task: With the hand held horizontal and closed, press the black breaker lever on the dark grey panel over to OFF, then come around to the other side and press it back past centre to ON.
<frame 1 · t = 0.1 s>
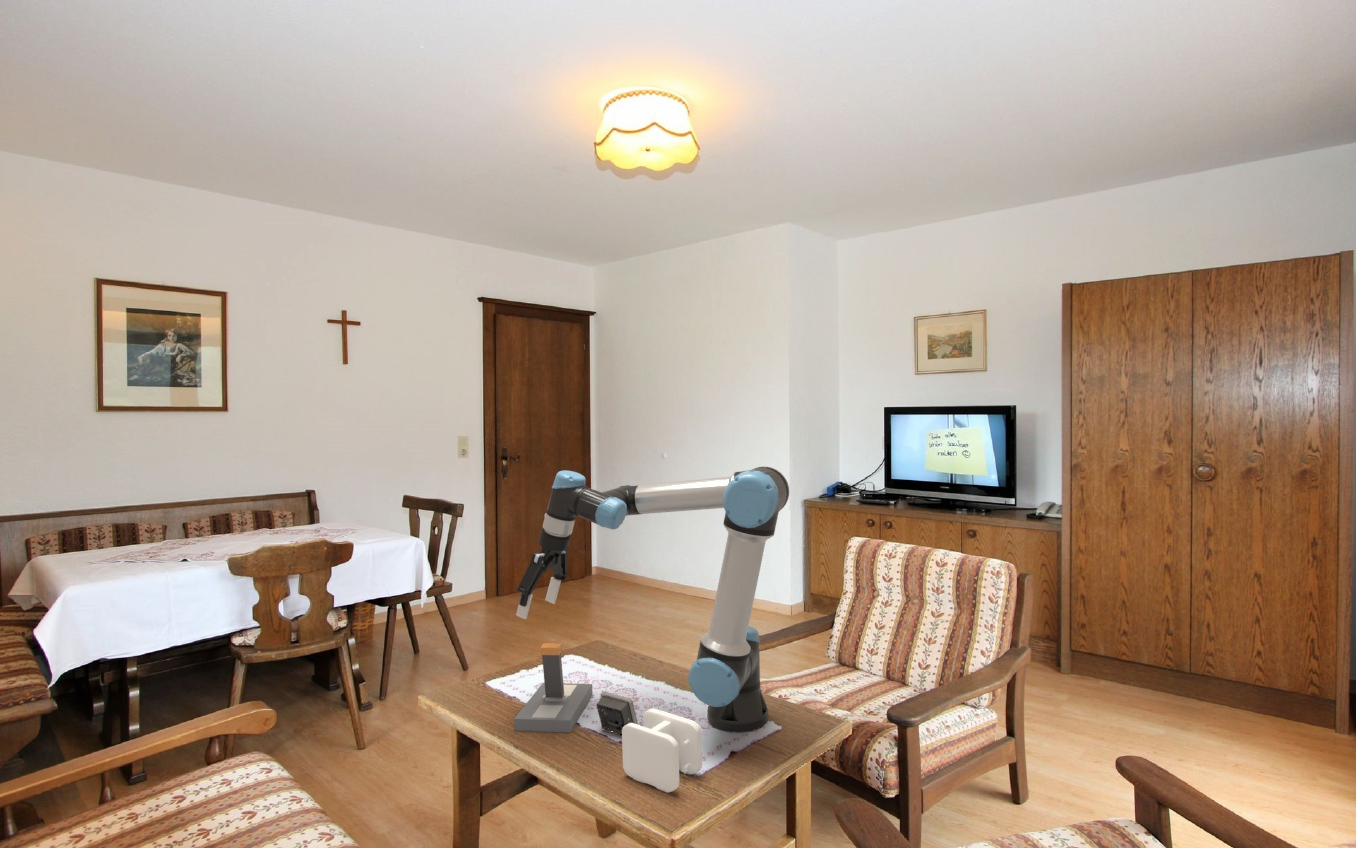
hand: (536, 609, 179), 28 cm above the table, tool tilted 20°, fingers open, 13 cm apart
breaker lever: (552, 671, 181), point 11 cm above the table, hinge at -8.0°
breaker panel: (555, 711, 182), on the table
electrical switch: (618, 733, 170), on the table
cable organizer: (662, 776, 150), on the table
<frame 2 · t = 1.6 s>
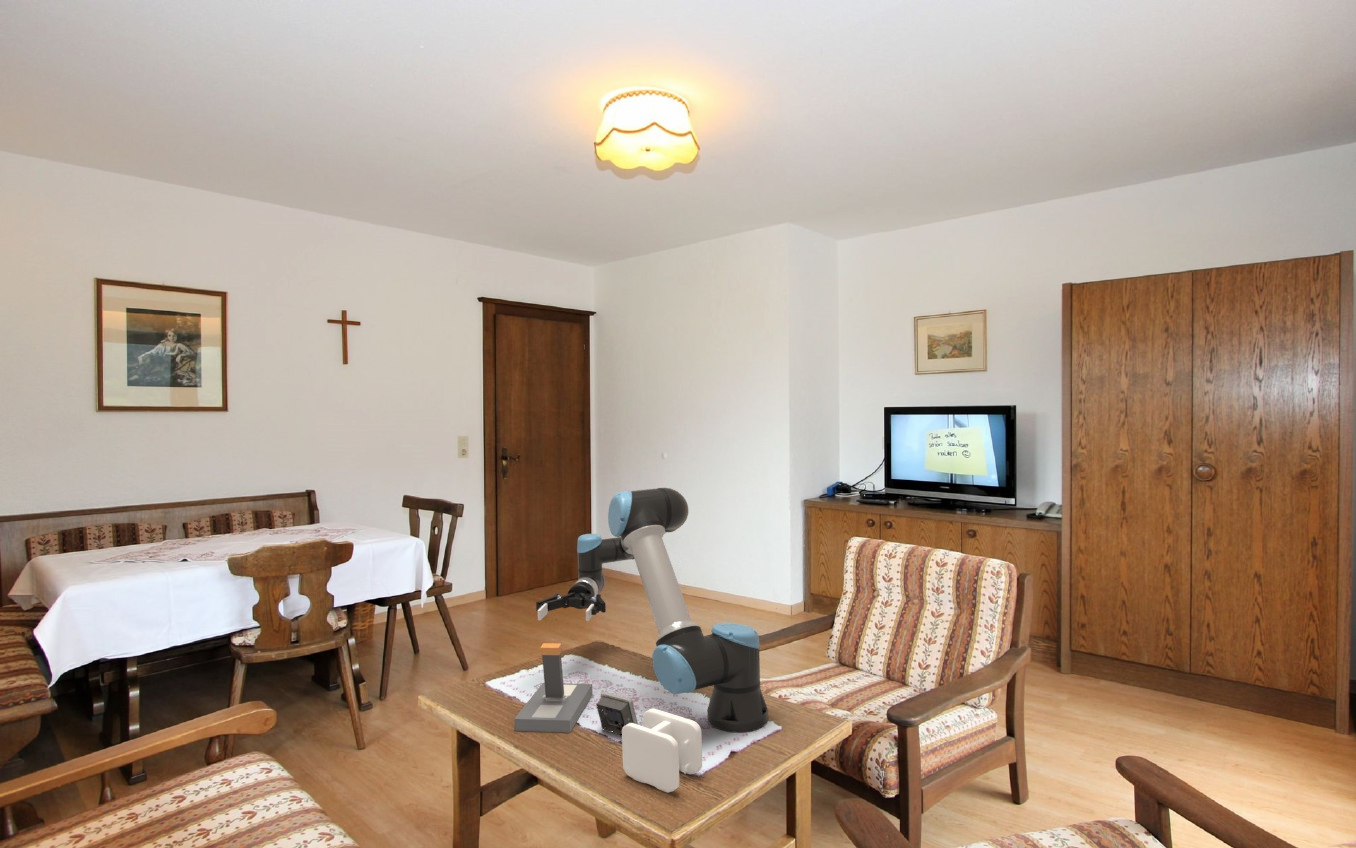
hand: (562, 615, 190), 22 cm above the table, tool horizontal, fingers open, 13 cm apart
nothing on the table moved.
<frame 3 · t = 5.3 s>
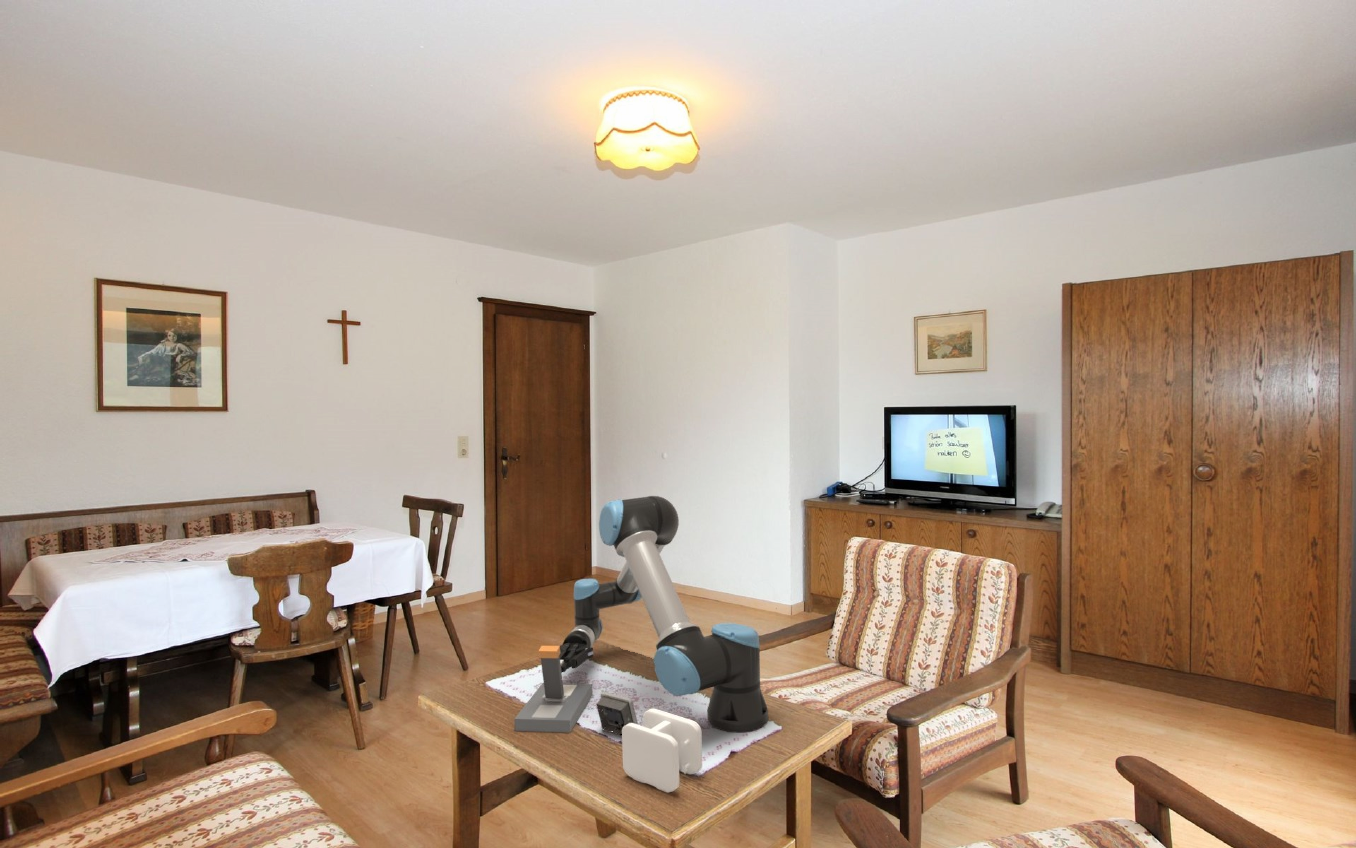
hand: (553, 674, 182), 10 cm above the table, tool horizontal, fingers closed
breaker lever: (552, 672, 180), point 11 cm above the table, hinge at -13.4°, touching gripper
everything else where it was.
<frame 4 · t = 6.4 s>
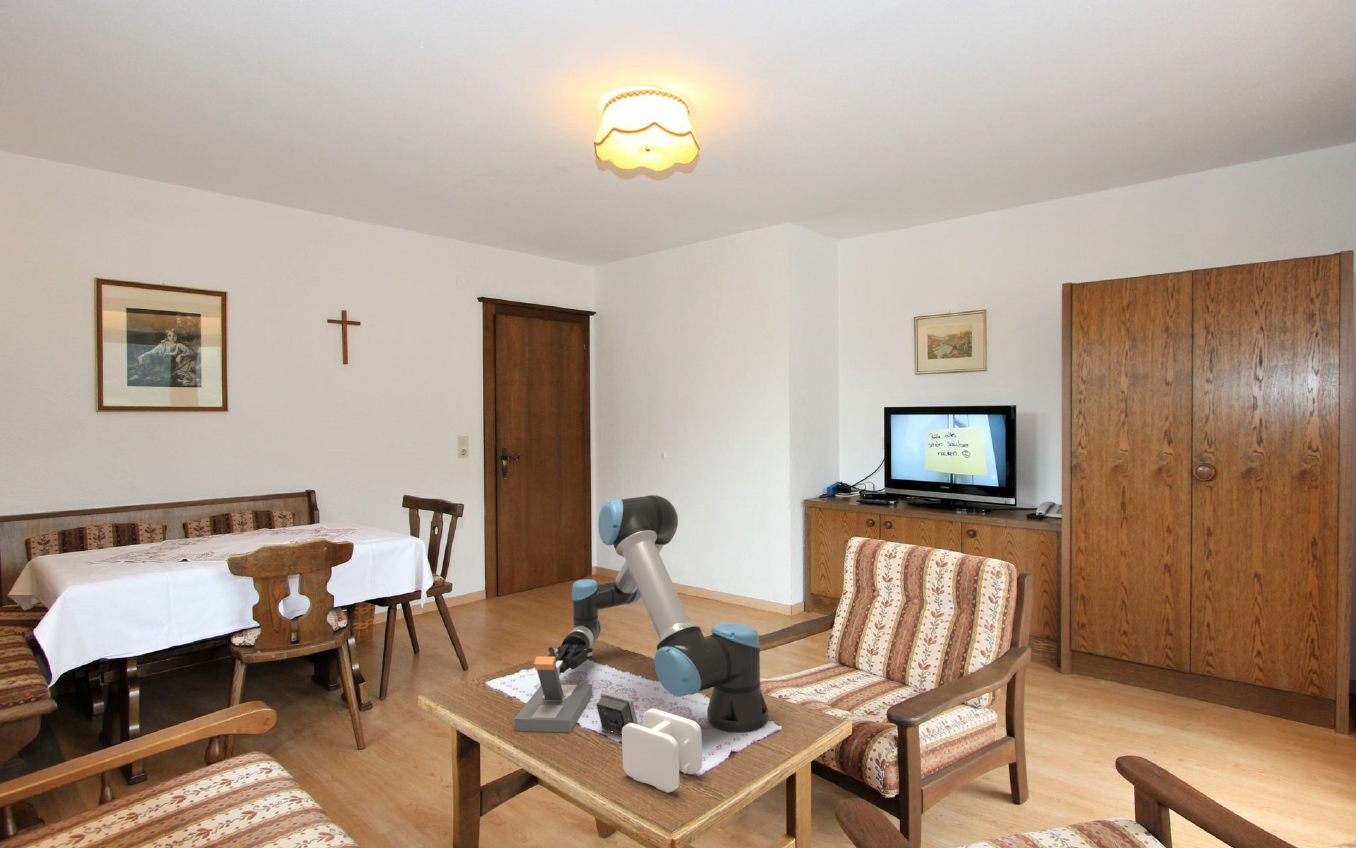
hand: (553, 675, 181), 10 cm above the table, tool horizontal, fingers closed
breaker lever: (549, 679, 178), point 10 cm above the table, hinge at -29.4°
everything else where it was.
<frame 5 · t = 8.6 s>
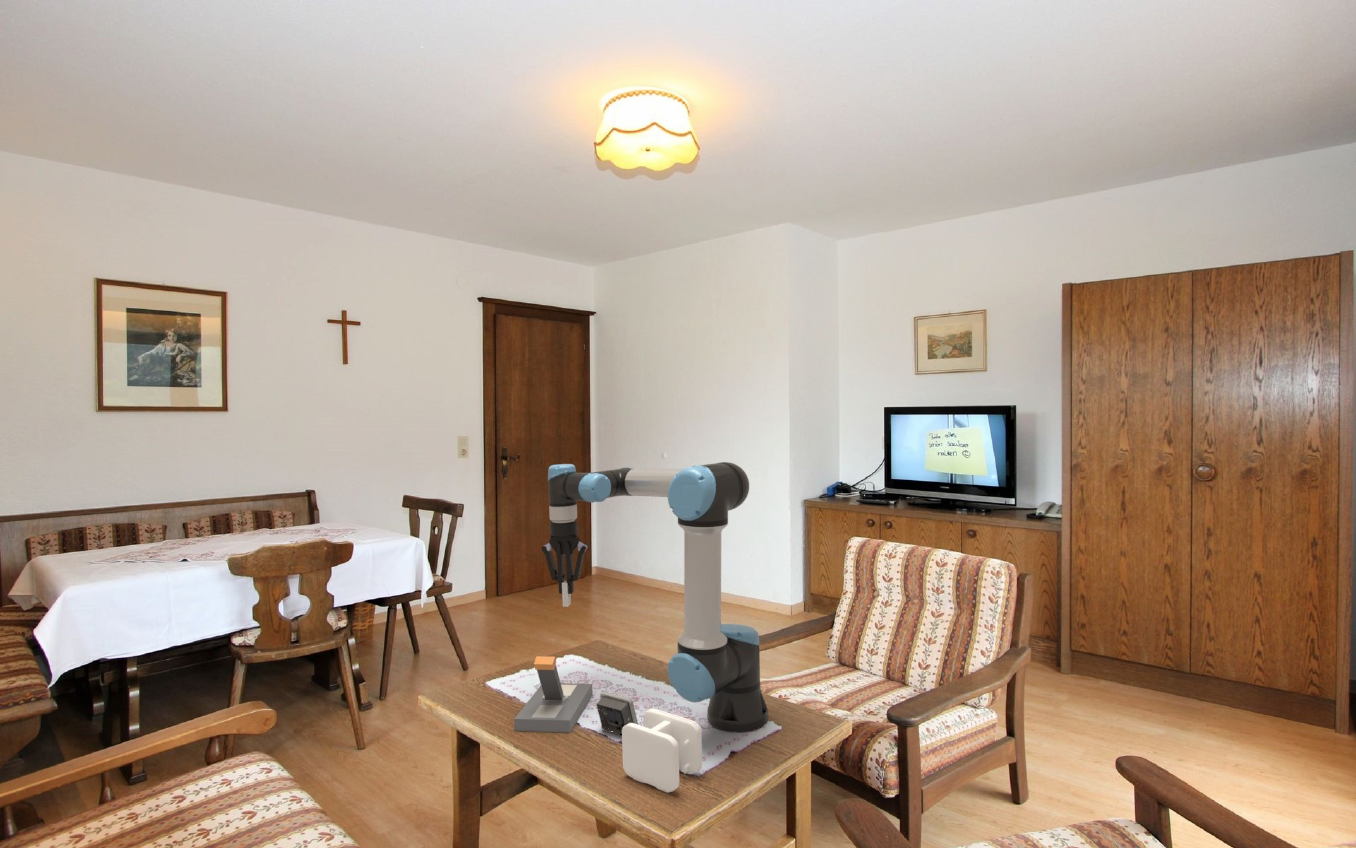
hand: (566, 605, 194), 24 cm above the table, tool pointing down, fingers closed
nothing on the table moved.
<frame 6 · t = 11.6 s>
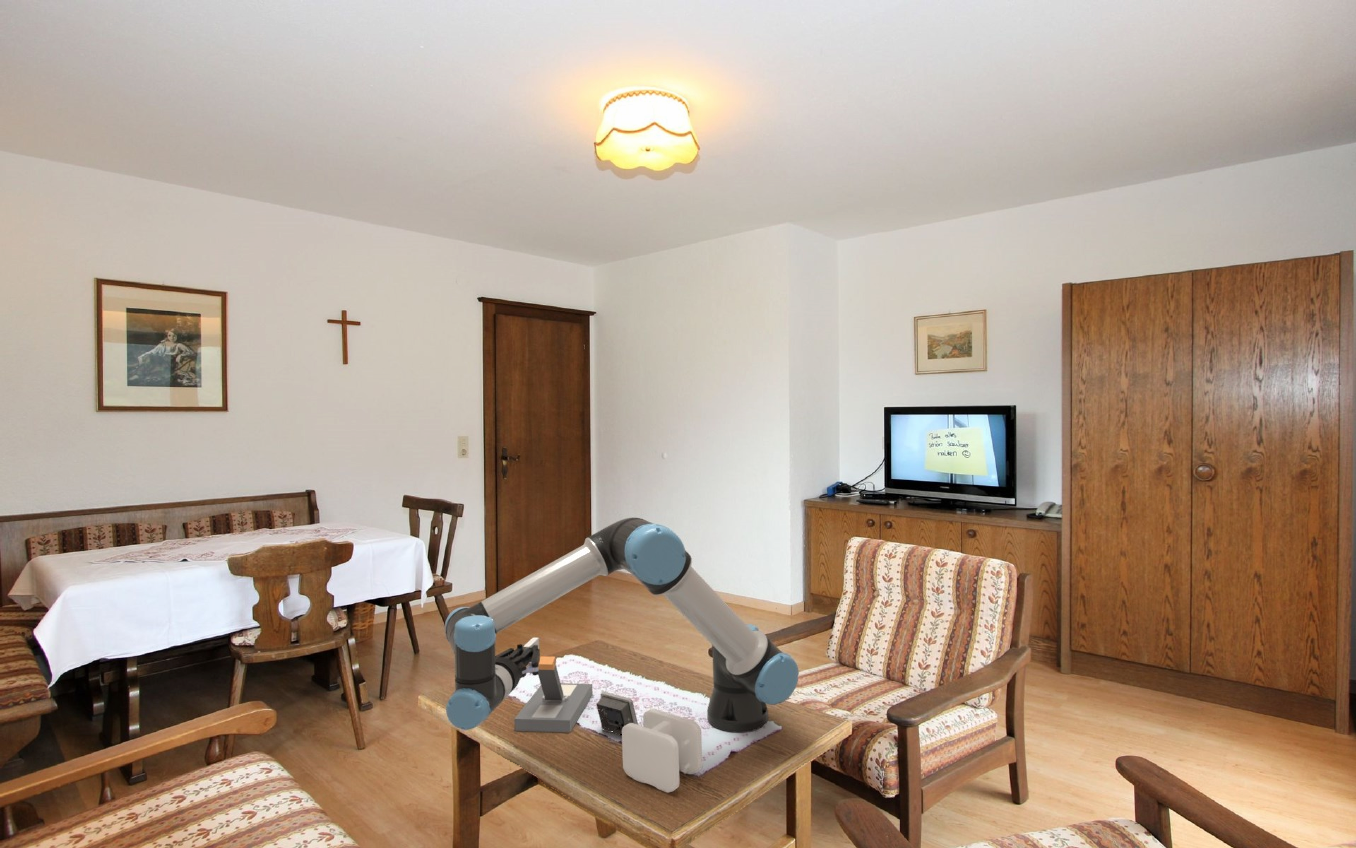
hand: (536, 643, 168), 23 cm above the table, tool horizontal, fingers closed
nothing on the table moved.
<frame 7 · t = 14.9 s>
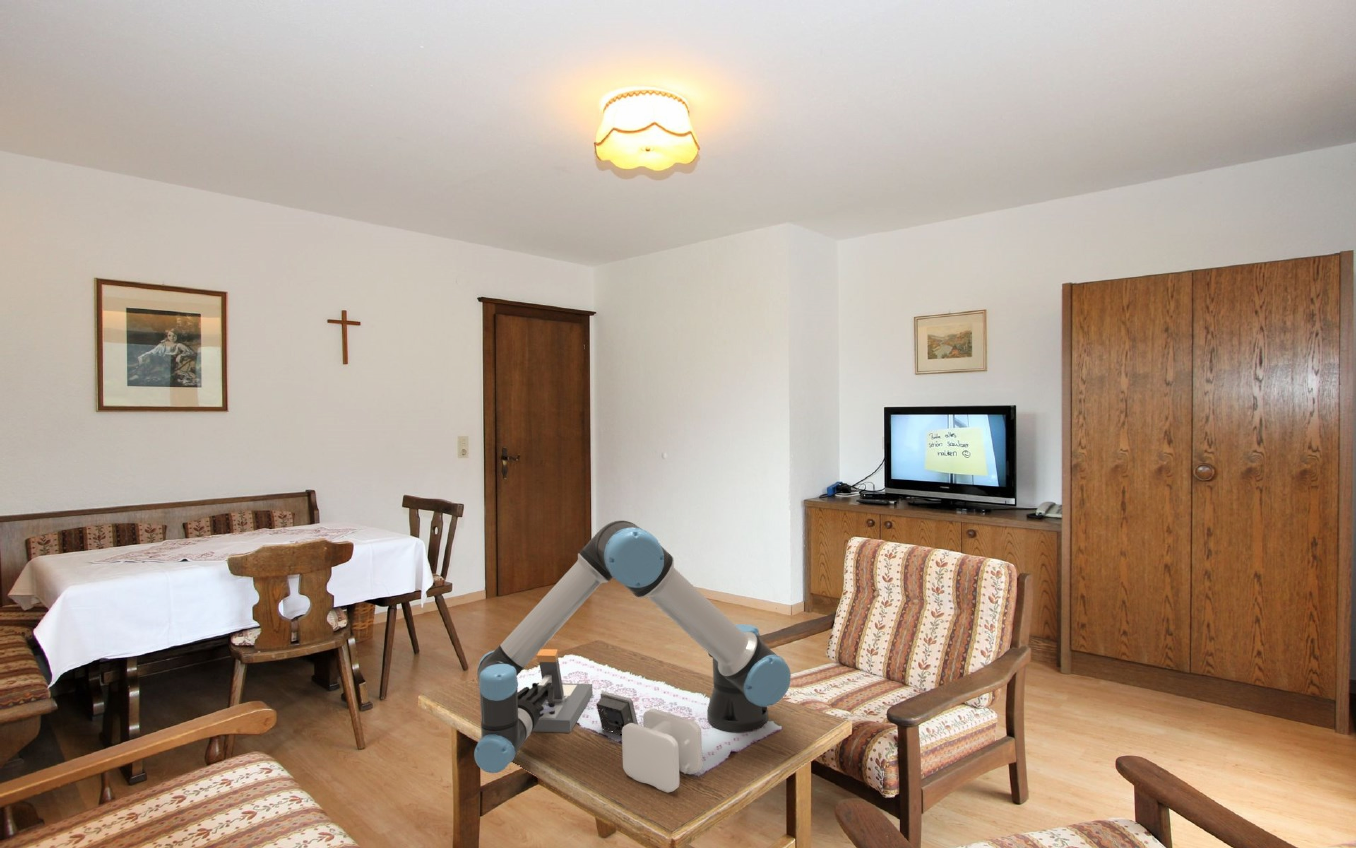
hand: (548, 680, 178), 10 cm above the table, tool horizontal, fingers closed
breaker lever: (551, 674, 179), point 11 cm above the table, hinge at -19.2°, touching gripper
everything else where it was.
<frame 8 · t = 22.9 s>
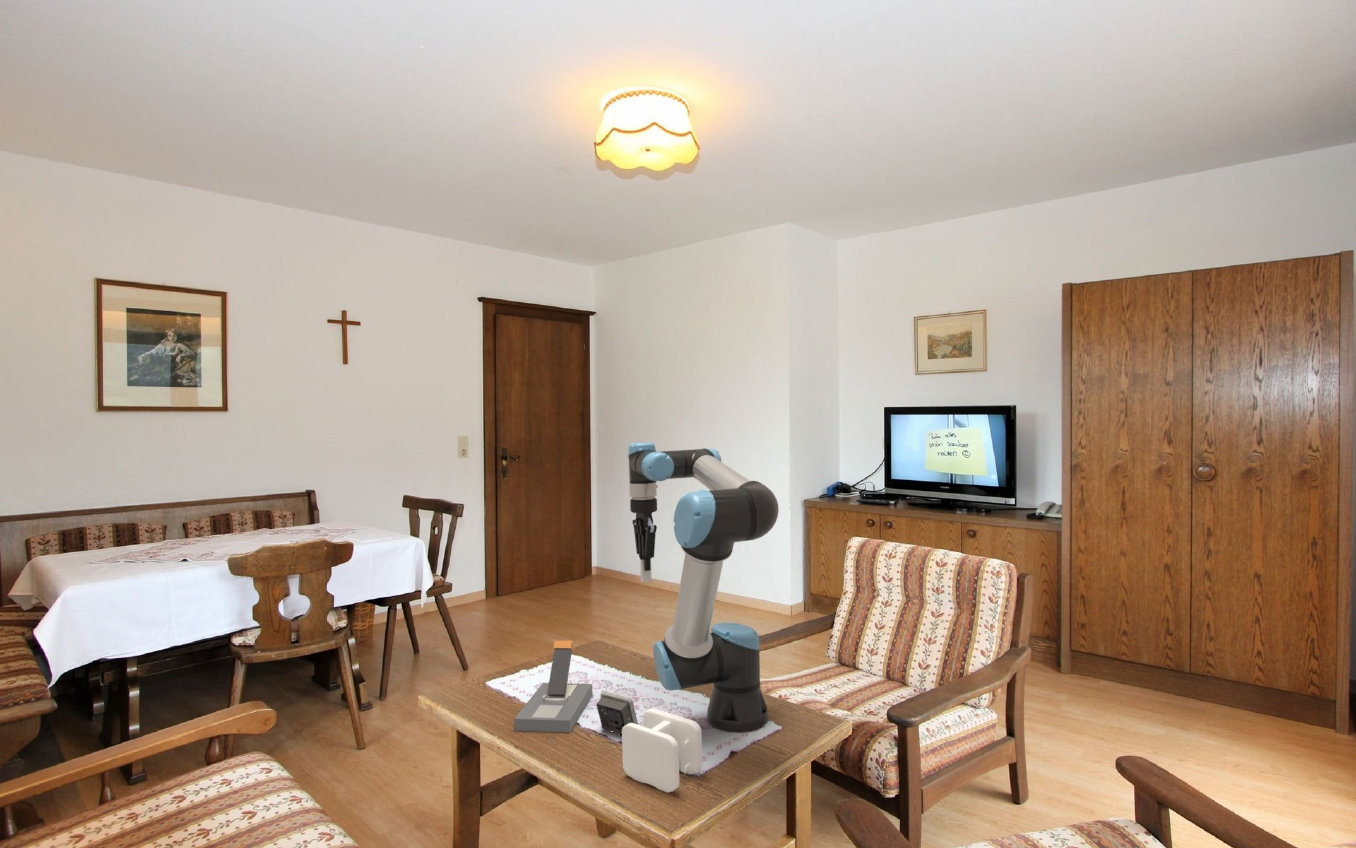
hand: (646, 581, 197), 29 cm above the table, tool pointing down, fingers closed
breaker lever: (560, 668, 187), point 9 cm above the table, hinge at 38.7°
everything else where it was.
at the end: breaker lever at +39° (first picture: -8°) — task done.
